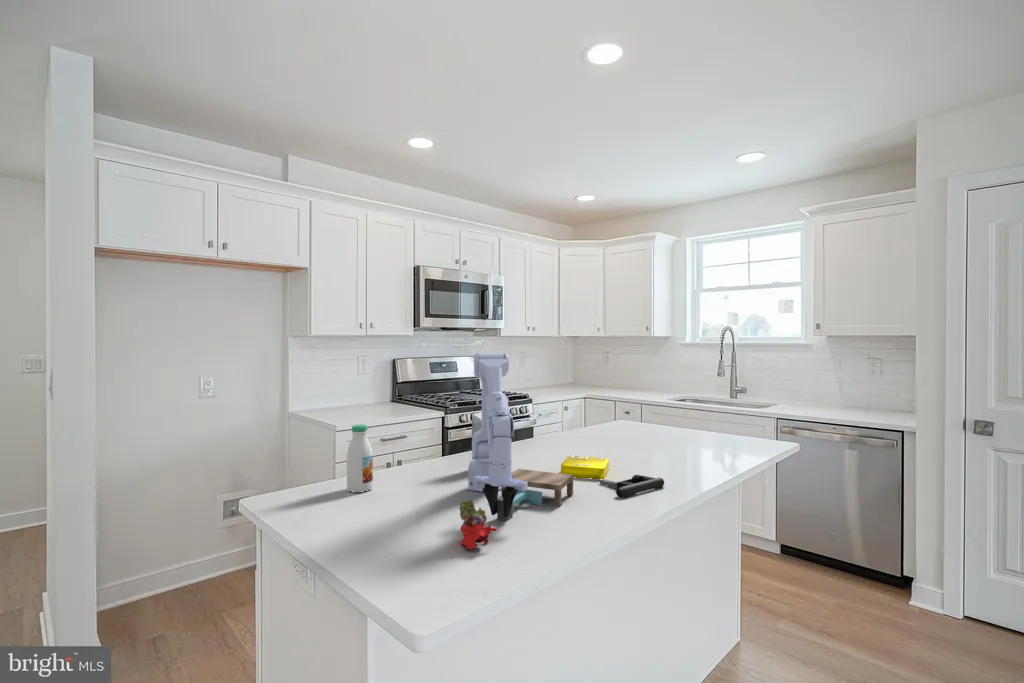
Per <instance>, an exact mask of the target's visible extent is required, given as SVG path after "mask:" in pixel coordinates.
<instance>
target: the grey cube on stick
mask: <svg viewBox="0 0 1024 683" xmlns="http://www.w3.org/2000/svg"><path fill="white" fill-rule="evenodd" d="M521 500H528V501H530V502H531V505H539V506H541V505H542V504H543V491H538V490H531V489H527V490H526V491H521V490H519V489H518V491H517V493H516V495H515V497H514V500H513V503H512V506H511V510H510V515H509V516H508V517H504V503H503V497H502V496H501V497H500V498H498V500H497V513H496V517H497V520H501V521H510V520H511V519H512V518H513V515H514V514H513V507H514V505H516V504H517V503H519V502H520V501H521Z"/></svg>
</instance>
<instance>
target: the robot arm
mask: <svg viewBox="0 0 1024 683" xmlns="http://www.w3.org/2000/svg"><path fill="white" fill-rule="evenodd" d="M509 365H510V362H509V355H508V354H507V352H491V353H490V352H489V353H486V352H485V353H484V352H482V353H481V352H480V353H479V352H476V353H475V354H474V355H473V374H474V377H475V378H478V379H480V381H481V413H482V428H481V429H480V430H479V431H477V432H476V433H475V434H474V435H473V441H472V440H471V458H472V457H473V460H472V459H471V460H470V461H469V464H468V469H467V470H468V471H467V481H468V482H467V488H466V490H467V491H472V492H473V491H474V492H481V493H483V494H484V496H485V498H486V500H487V502H488V506H489V510H490V514H491V515H492V516H495V515H497V500H498V499H499V498H498V497H499V492H500V491H501V497H502V496H503V503H504V517H508V516H509V515H510V510H511V506H512V503H513V500H514V497H515V495H516V493H517V491H518V489H519V490H521V491H526V490H529V489H528V488H529V487H528V482H526V481H521V480H517V479H514V478H511V473H512V438H513V437H514V434H515V424H514V423H515V422H514V418H513V415H512V412H510V408H509V407H510V406H509V400H508V396H507V395H506V394H505V393H503V377H505V376H507V373H508V372H509V369H510V368H509ZM502 487H504V488H506V489H504V490H503V491H502Z"/></svg>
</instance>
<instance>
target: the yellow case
mask: <svg viewBox="0 0 1024 683" xmlns="http://www.w3.org/2000/svg"><path fill="white" fill-rule="evenodd" d="M608 471H609V472H610V459H609V458H606V457H591V456H581V455H569V456H567V457H566V458H565V459H564V461H562V463H561V464H560V474H569V475H573V477H576V478H575V479H582V478H592V479H591V480H595V479H604V478H605V477H606V478H607V476H608V474H609V472H608ZM607 473H608V474H607ZM606 475H607V476H606ZM606 478H605V479H606ZM605 479H604V480H605Z"/></svg>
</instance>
